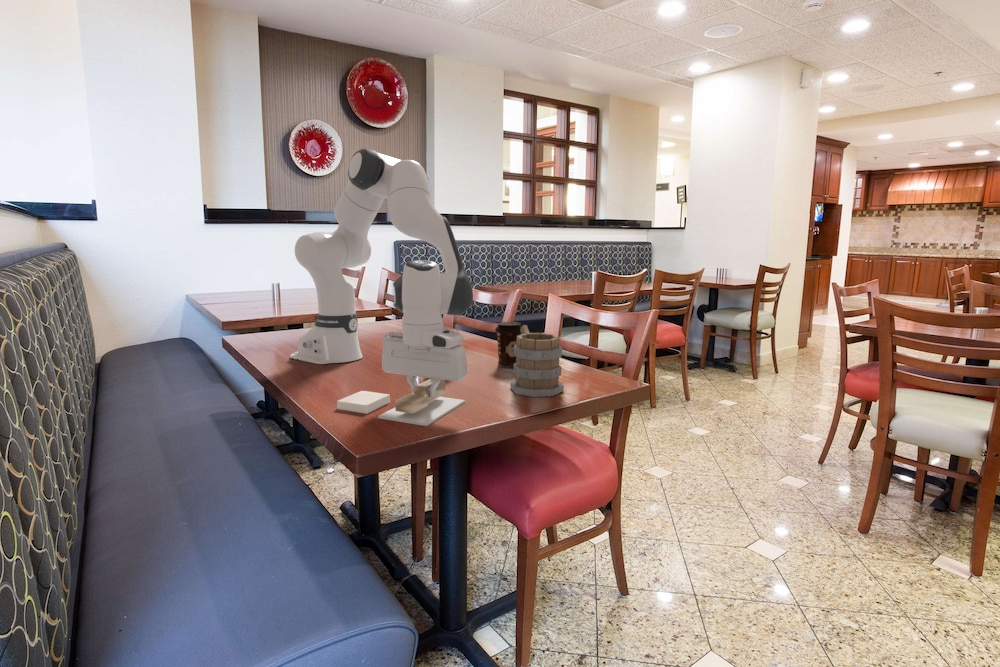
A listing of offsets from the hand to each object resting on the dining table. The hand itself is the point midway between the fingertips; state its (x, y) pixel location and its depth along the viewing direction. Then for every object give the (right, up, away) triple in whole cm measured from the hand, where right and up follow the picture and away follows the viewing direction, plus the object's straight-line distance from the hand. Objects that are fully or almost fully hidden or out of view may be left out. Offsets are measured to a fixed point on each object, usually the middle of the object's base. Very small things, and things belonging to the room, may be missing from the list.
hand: (423, 395), depth 124 cm
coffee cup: (+20, +4, +43) cm, 47 cm away
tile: (-14, -2, +3) cm, 15 cm away
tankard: (+26, 0, +21) cm, 33 cm away
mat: (0, -3, +1) cm, 3 cm away
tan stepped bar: (0, -2, 0) cm, 2 cm away
